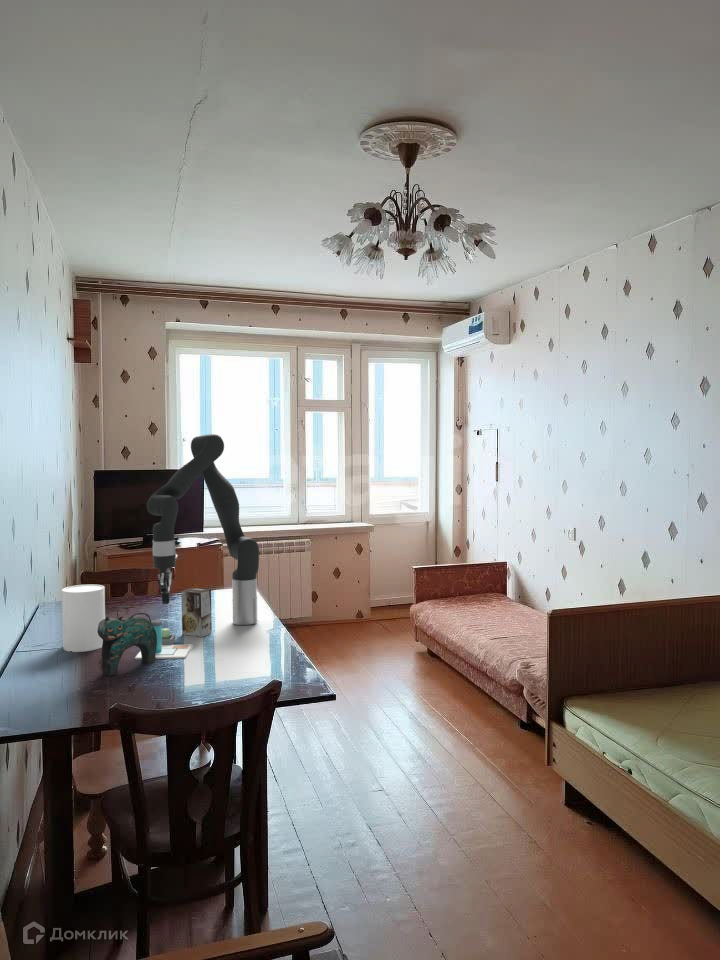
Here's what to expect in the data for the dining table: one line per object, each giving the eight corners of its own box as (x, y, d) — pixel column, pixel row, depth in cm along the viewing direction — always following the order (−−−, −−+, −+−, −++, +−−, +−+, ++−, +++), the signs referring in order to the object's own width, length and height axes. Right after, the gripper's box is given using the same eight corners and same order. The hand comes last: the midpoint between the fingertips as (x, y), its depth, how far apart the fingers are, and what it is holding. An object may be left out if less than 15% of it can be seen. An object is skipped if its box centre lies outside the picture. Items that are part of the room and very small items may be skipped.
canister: (98, 651, 236) (97, 592, 235) (57, 652, 236) (56, 592, 235) (110, 640, 250) (109, 584, 249) (71, 641, 249) (69, 584, 248)
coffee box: (212, 633, 259) (212, 589, 258) (201, 637, 253) (201, 592, 253) (192, 630, 263) (191, 587, 262) (181, 634, 257) (180, 590, 256)
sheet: (192, 646, 242) (192, 644, 242) (185, 658, 228) (185, 656, 228) (145, 647, 241) (144, 645, 241) (134, 659, 227) (134, 657, 227)
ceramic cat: (106, 679, 209) (105, 611, 208) (93, 675, 212) (92, 609, 211) (160, 661, 225) (159, 599, 224) (147, 658, 229) (146, 597, 228)
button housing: (175, 641, 248) (175, 634, 248) (172, 646, 242) (172, 639, 242) (158, 641, 248) (157, 634, 248) (154, 646, 242) (154, 639, 242)
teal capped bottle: (163, 649, 236) (162, 620, 235) (160, 653, 232) (160, 622, 231) (151, 650, 235) (151, 620, 235) (149, 653, 232) (148, 623, 231)
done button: (171, 636, 247) (171, 628, 247) (169, 639, 243) (169, 630, 243) (160, 636, 247) (160, 628, 247) (158, 639, 243) (158, 631, 243)
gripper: (172, 556, 236) (173, 607, 237) (178, 549, 249) (180, 598, 250) (149, 557, 235) (150, 608, 236) (156, 550, 248) (158, 599, 249)
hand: (165, 603), depth 243 cm, fingers closed
